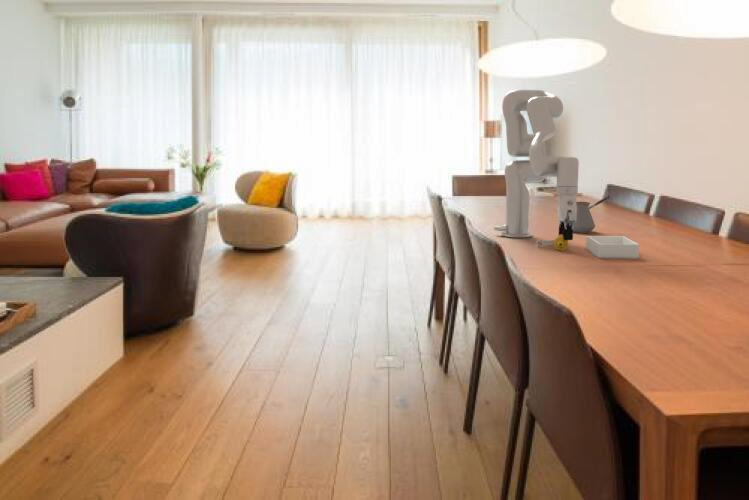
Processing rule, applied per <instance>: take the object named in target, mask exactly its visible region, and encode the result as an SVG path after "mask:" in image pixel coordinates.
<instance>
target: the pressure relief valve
mask: <svg viewBox="0 0 749 500" xmlns="http://www.w3.org/2000/svg"><path fill="white" fill-rule="evenodd" d="M563 237H564V236H563V235H562V234H561V235H559V234H558V235H557V237H556V238H554V239H551V240H549V239H548V240H541V239H539V240H536V241H535V246H536V247H537V248H542V247H544V246H551V245H553V247H554V249H555V250H558V251H560V252H563V251H564V250H566V249H568V248H569V240H564V239H563ZM539 242H540V243H541V245H538V243H539Z"/></svg>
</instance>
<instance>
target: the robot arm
mask: <svg viewBox="0 0 749 500" xmlns="http://www.w3.org/2000/svg"><path fill="white" fill-rule="evenodd" d="M501 107H502V115H503V118H504V121H505V122H504V123H505V132H506V133H505V134H506V148H507V153H508V155H509V156H510V157H513V158H528V159H518V160H516V159H515V160H511V161H510V162H507V164H505V168H504V180H505V186H506V196H505V197H506V198H505V199H506V201H505V223H504V224H503V225H500V226H499V225H494V226H493V231H494V232H495V231H496V232H497V231H498V232H501V236H503V237H507V238H514V239H515V238H519V239H520V238H523V239H524V238H531V237H532V235H533V234H532V232H531V231H529V219H530V218H529V216H530V198H531V197H530V195H531V194H530V191H529V189H528V187H527V185H526V184H535V183H542V182H543V181H544V180H545V179H546V178H547V177H548V178H549V177H550V178H551V177H554V178H555V177H556V190H555V191H556V192H555V193H556V196H558V202H557V203H558V205H557V219H558V220H559V222H558V223H559V224H558V235H561V234H562V235H563V236H564V237H563V239H564V240H568V241H573V239H574V238H573V237H574V232H573V222H576V202H577V197H576V196H578V191H579V164H580V161H579V159H578V157H572V156H547V153H546V152H547V150H546V149H547V148H546V141H547V140H549V139H551V138H553V137H554V136H555V134H556V133H557V128H556V124H555V120H554V119H558V118H560V117H561V116H562V115H563V112H564V105H563V101H562V100H561V99H560V98H559V97H558V96H557V95H555V94H552V93H550V92H549V91H548V92H547V91H545V90H542V89H513V90H510V91H508V92H507V93H506V94H505V95H504V97H503V100H502V106H501ZM521 112H527V117H528V120H529V122H530V127H531V129H532V133H528V122H527V121H526V118H525V117H524V115H523V113H521Z"/></svg>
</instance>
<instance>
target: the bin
mask: <svg viewBox="0 0 749 500" xmlns="http://www.w3.org/2000/svg"><path fill="white" fill-rule="evenodd" d="M585 250H586V251H588V252H589V253H590V254H592V255H593V256H595V257H596V258H598V259H607V260H609V259H616V260H617V259H619V260H621V259H622V260H623V259H625V260H626V259H627V260H628V259H629V260H630V259H633V260H639V258H640V257H639V254H640V243H637V242H636V241H633V240H632V239H630V238H628V237H627V236H624V235H586V236H585Z"/></svg>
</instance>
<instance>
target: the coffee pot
mask: <svg viewBox="0 0 749 500" xmlns="http://www.w3.org/2000/svg"><path fill="white" fill-rule="evenodd" d="M609 198H610V199H609ZM612 199H613V198H612V197H611V196H610V195H608V196H606V197H603V199H600V200H599V201H597V202H595V203H594V204H592V205H591V202H587V201H576V222H573V233H575V234H576V233H578V234H587V233H588V234H589V233H591V231H594V229H595V228H596V224H595V221H594V219H593V216H592V213H591V209H592V208H594V207H596V206H598V205H600V204H602V203H604V201H607V200H609V201H612Z"/></svg>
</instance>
